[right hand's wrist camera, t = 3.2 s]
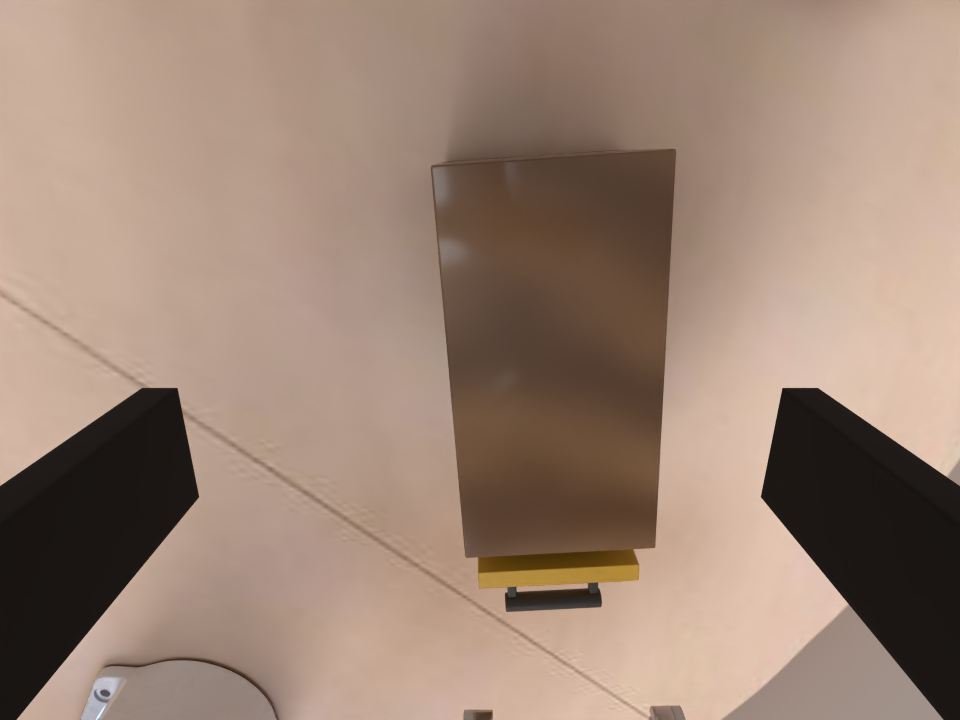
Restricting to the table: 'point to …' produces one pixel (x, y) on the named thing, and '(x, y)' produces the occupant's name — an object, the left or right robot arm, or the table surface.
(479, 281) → the cabinet
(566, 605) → the drawer
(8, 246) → the table surface
